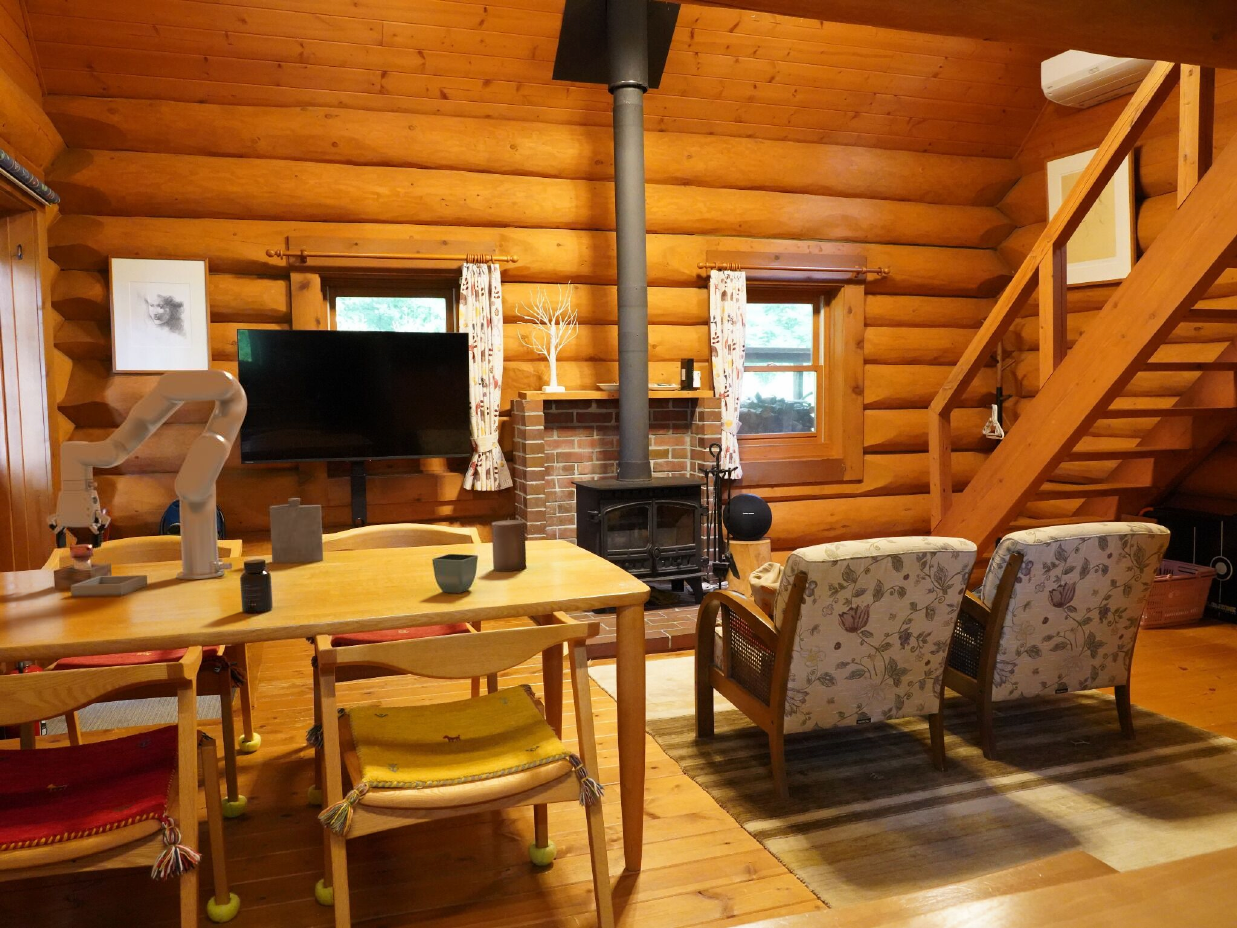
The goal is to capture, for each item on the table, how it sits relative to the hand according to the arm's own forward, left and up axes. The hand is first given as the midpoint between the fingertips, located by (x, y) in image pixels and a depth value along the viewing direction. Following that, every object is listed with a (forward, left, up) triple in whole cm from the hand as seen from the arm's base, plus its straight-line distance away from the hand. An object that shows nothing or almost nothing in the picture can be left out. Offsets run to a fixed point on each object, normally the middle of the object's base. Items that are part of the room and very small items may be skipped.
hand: (79, 547), depth 248 cm
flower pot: (-108, +19, -11) cm, 110 cm away
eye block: (-1, 0, -11) cm, 11 cm away
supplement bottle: (-64, +37, -11) cm, 74 cm away
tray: (-14, +10, -11) cm, 20 cm away
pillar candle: (-118, -12, -11) cm, 119 cm away
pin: (-1, 0, -11) cm, 11 cm away
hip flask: (-49, -32, -11) cm, 59 cm away
